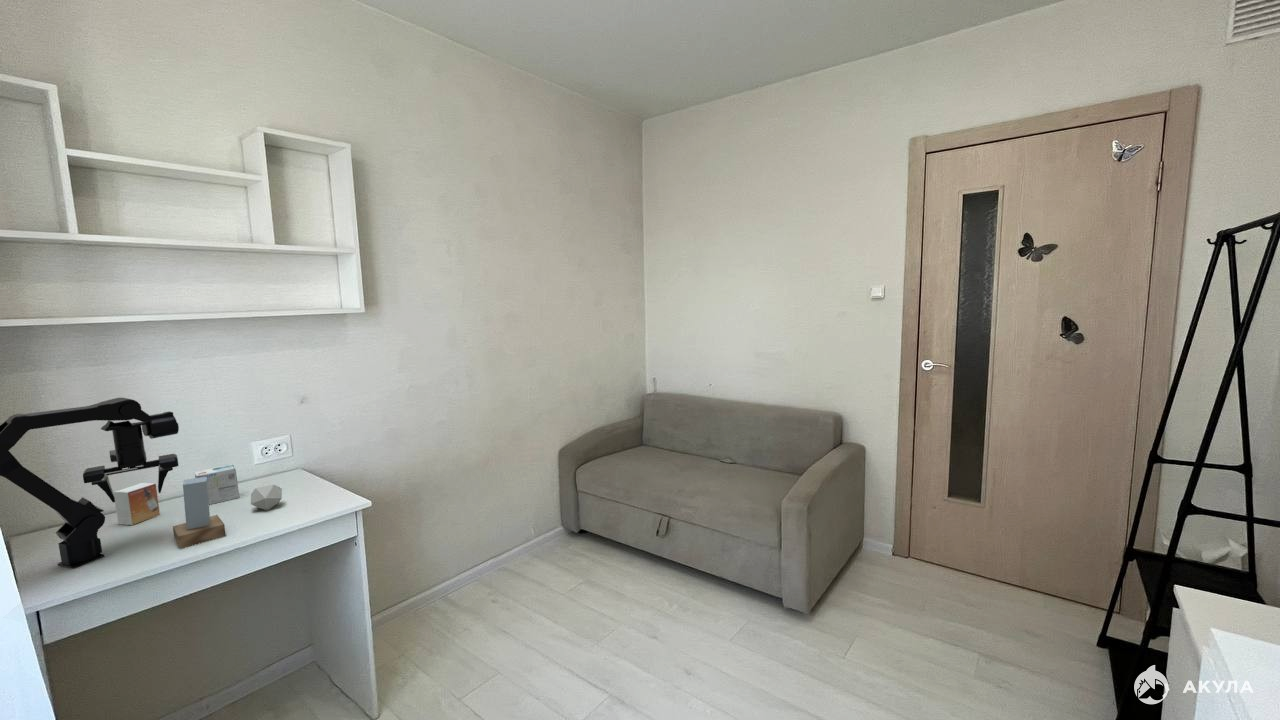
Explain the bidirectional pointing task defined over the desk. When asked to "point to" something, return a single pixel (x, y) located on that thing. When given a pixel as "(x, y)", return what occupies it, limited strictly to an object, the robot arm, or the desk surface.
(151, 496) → the small box
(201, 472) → the light bulb box
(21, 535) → the desk surface
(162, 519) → the desk surface
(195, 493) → the slate block
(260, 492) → the die
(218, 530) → the walnut base block
